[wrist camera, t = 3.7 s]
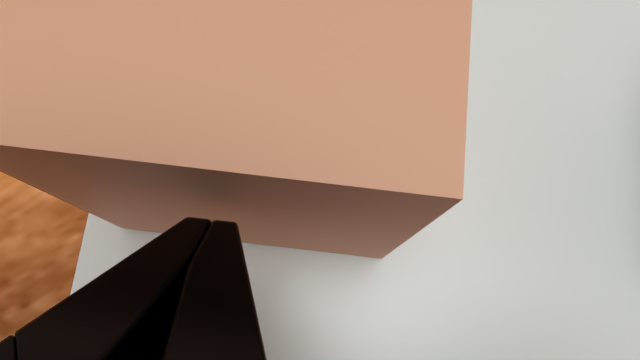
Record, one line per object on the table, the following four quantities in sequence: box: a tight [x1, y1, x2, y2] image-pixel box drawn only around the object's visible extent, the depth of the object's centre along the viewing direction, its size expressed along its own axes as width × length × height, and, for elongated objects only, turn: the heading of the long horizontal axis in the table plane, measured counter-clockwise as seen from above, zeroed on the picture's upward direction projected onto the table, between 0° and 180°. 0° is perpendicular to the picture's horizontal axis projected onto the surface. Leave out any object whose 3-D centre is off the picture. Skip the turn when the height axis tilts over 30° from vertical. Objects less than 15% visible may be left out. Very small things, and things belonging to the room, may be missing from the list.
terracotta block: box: [0, 0, 472, 259], centre depth 11 cm, size 6×7×8 cm
